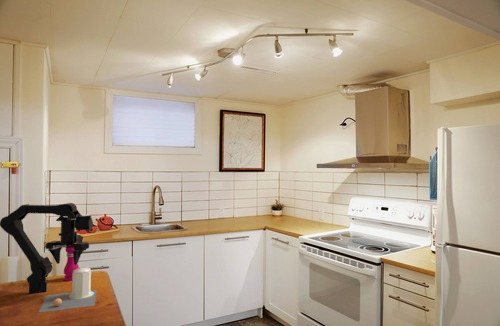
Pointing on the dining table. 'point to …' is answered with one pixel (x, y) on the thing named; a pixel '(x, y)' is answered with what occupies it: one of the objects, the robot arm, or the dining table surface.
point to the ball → (57, 302)
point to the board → (68, 301)
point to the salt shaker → (81, 282)
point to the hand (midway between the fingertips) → (67, 264)
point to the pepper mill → (70, 265)
